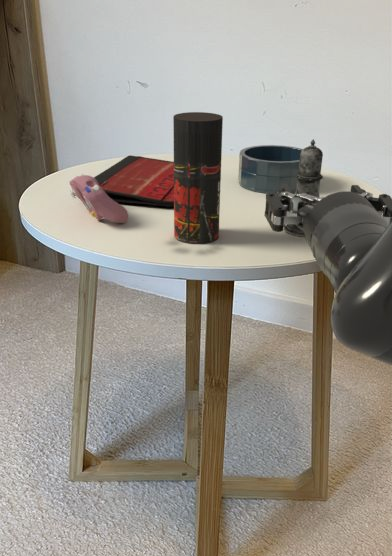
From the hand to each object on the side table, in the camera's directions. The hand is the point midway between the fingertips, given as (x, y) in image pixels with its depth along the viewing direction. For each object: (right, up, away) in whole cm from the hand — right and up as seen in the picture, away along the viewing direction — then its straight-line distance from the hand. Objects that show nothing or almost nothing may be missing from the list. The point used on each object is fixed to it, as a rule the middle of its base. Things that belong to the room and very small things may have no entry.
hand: (318, 192), depth 74 cm
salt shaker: (0, -3, +9) cm, 9 cm away
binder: (-23, +7, +25) cm, 35 cm away
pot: (-2, +9, +28) cm, 29 cm away
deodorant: (-15, -4, +6) cm, 17 cm away
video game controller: (-29, 0, +12) cm, 31 cm away
